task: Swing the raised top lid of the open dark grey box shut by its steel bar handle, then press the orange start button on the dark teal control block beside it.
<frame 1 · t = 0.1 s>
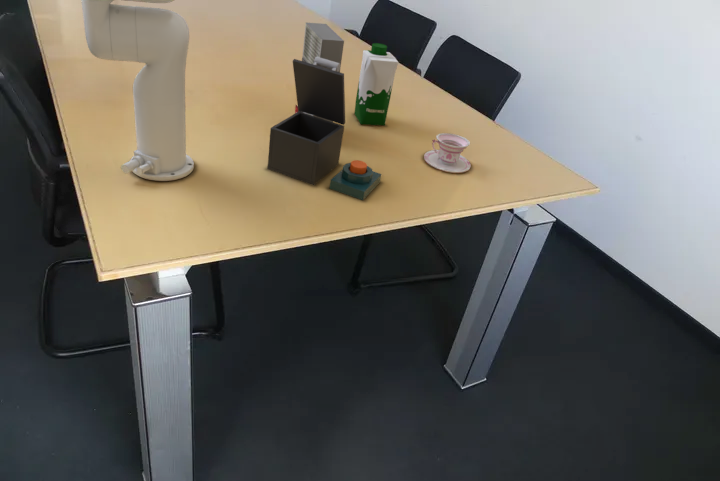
ribbed grey cuboid: (311, 131, 145), on the table
control block: (355, 185, 125), on the table
start button: (358, 167, 122), point 4 cm above the table, slide at 0.1 cm
lid: (324, 86, 123), point 17 cm above the table, hinge at 68.0°
milk carton: (369, 120, 157), on the table
teacup: (446, 163, 142), on the table
open dark grey box: (303, 166, 128), on the table
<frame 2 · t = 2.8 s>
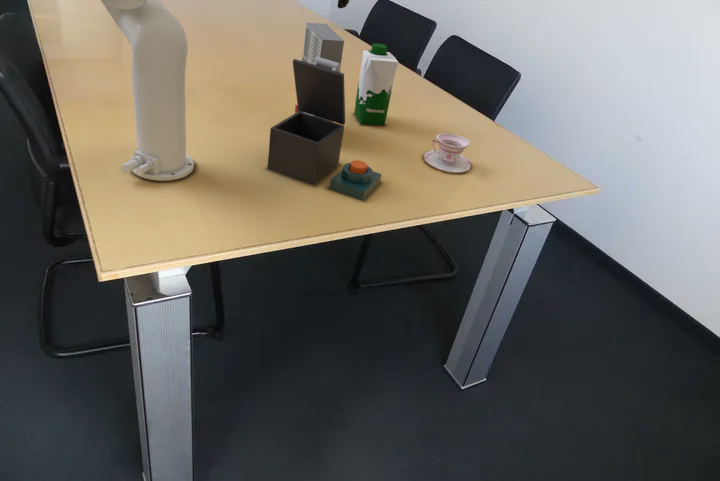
hand: (320, 1, 115), 34 cm above the table, tool pointing down, fingers open, 9 cm apart
nothing on the table moved.
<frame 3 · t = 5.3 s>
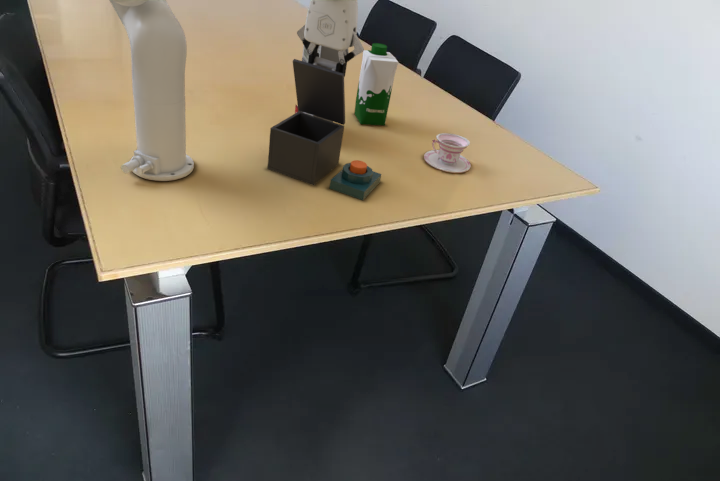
hand: (325, 75, 122), 20 cm above the table, tool pointing down, fingers closed on lid, 5 cm apart
lid: (324, 86, 123), point 17 cm above the table, hinge at 68.0°, touching gripper
everything else where it was.
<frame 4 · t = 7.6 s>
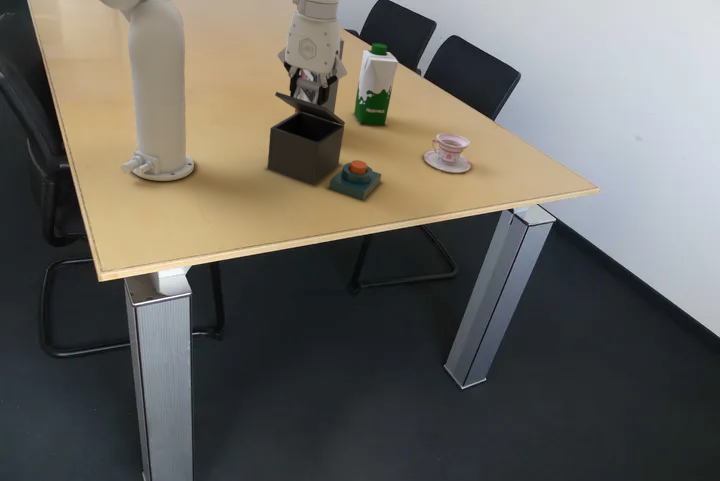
hand: (308, 98, 117), 17 cm above the table, tool pointing down, fingers closed on lid, 5 cm apart
lid: (314, 99, 121), point 16 cm above the table, hinge at 30.5°, touching gripper
everything else where it was.
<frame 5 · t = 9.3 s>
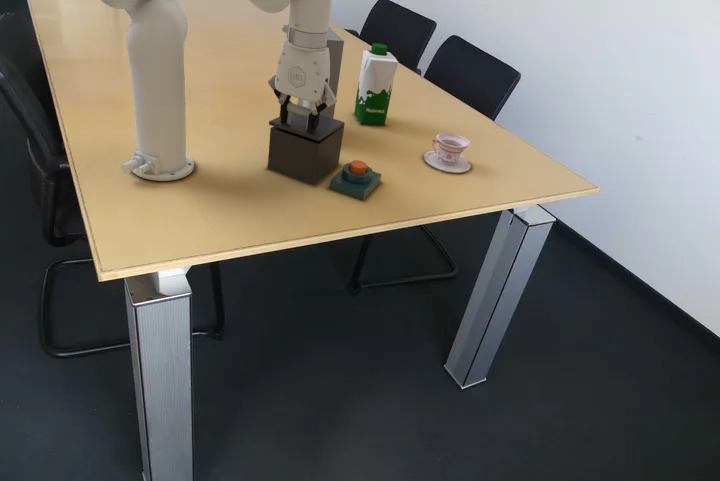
hand: (298, 125, 117), 12 cm above the table, tool pointing down, fingers closed on lid, 5 cm apart
lid: (309, 113, 121), point 13 cm above the table, hinge at 4.0°, touching gripper
everything else where it was.
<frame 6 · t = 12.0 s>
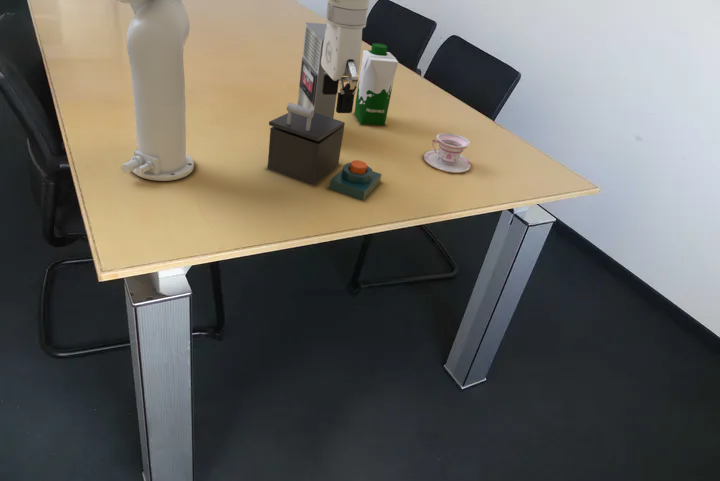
hand: (336, 103, 114), 18 cm above the table, tool pointing down, fingers open, 9 cm apart
lid: (309, 113, 121), point 13 cm above the table, hinge at 3.6°
everything else where it was.
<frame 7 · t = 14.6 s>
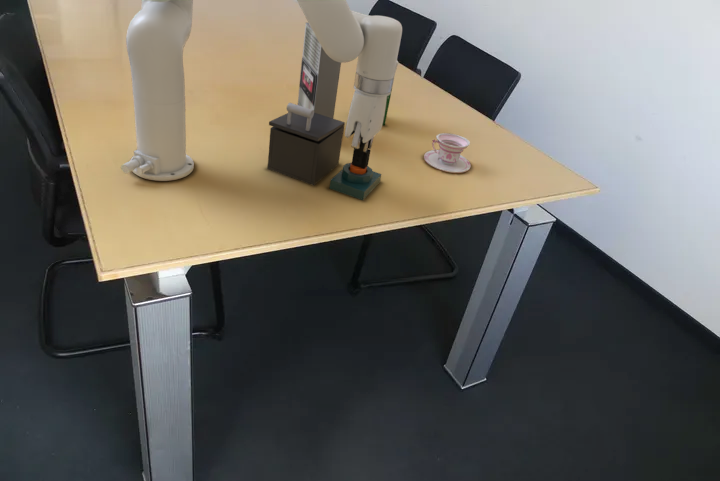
hand: (359, 165, 122), 5 cm above the table, tool pointing down, fingers closed
start button: (358, 169, 122), point 4 cm above the table, slide at -0.3 cm, touching gripper
everything else where it was.
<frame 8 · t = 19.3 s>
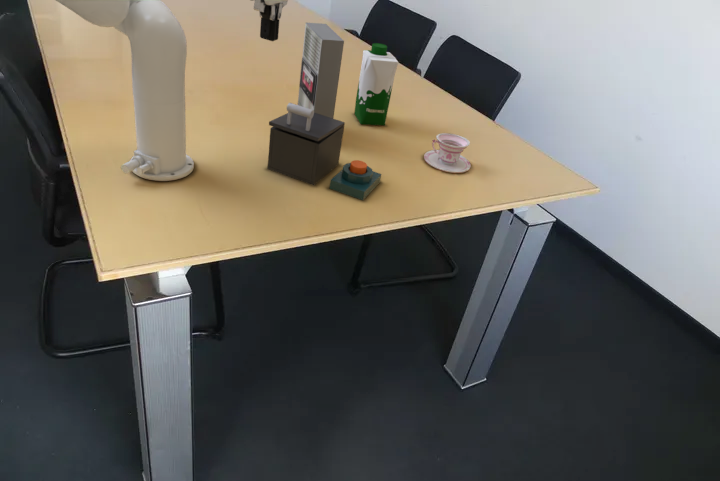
hand: (268, 38, 112), 27 cm above the table, tool pointing down, fingers closed
start button: (358, 167, 122), point 4 cm above the table, slide at 0.1 cm
everything else where it was.
at the end: lid at +4° (first picture: +68°); start button pushed in 1.0 cm at the most during the clip, back to where it started at the end; start button slide at 0.1 cm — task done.
